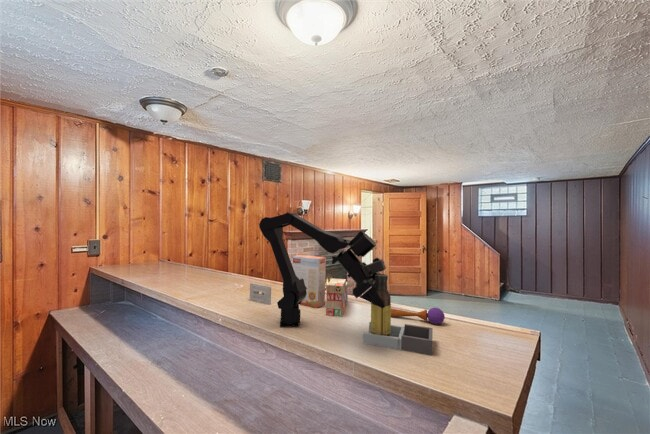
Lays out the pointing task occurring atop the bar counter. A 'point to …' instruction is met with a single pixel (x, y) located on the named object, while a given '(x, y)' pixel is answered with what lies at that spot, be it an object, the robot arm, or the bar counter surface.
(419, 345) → the grey compartment tray
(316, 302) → the cracker box
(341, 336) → the bar counter surface
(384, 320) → the sauce bottle
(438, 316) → the kendama
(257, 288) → the cassette
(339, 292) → the printed food box
